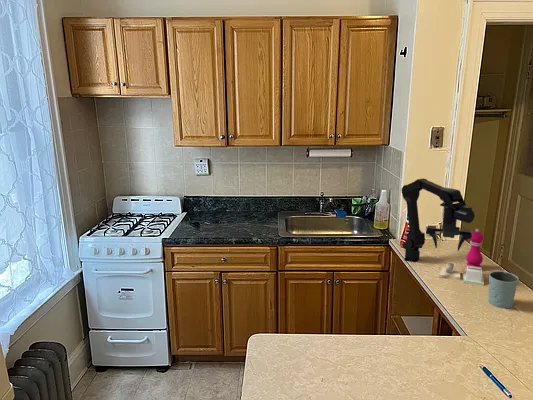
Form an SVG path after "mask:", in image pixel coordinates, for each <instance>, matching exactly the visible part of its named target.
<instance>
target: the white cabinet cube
mask: <svg viewBox="0 0 533 400" xmlns="http://www.w3.org/2000/svg"><path fill="white" fill-rule="evenodd" d="M465 269H466V270H465V271H466V272H465V274H466V280H471V281H478V282H481V279H482V276H483V269H482V266H481V267H474V266H467V267H466V268H465Z"/></svg>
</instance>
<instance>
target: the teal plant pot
mask: <svg viewBox="0 0 533 400" xmlns="http://www.w3.org/2000/svg"><path fill="white" fill-rule="evenodd" d="M488 281H489V283H488V284H489V285H488V297H487V298H488V303H489V304H490V305H491V306H494V307H496V308H499V309H511V308H512V307H513V305H514V301H515V300H514V299H515V297H516V292H517V286H518V284H519V281H520V279H519V277H518V276H517V275H516V274H514V273H511V272H508V271H504V270H503V271H502V270H494V271H491V272H489V274H488Z"/></svg>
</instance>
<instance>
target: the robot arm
mask: <svg viewBox="0 0 533 400" xmlns="http://www.w3.org/2000/svg"><path fill="white" fill-rule="evenodd" d="M423 190H424V191H427V192H428V193H431V194H433V195H435V196H437V197H438V198H439V199H440V200H441V201H442V202H441V203H440V204H439V206H440V207H443V215H442V224H441V228H437V225H429V224H428V225H427V226H426V231H425V232H426V233H425V232H423V231H422V230H421V228H420V220H419V208H418V199H419V197H420V194H421V193H420V192H421V191H423ZM401 193H402V194H401V195H402V198H403V200H404V201H405V202H406V210H407V217H408V218H407V220H408V221H407V222H408V229H409V230H408V232H407V234H406V241H404V242H403V243H402V249H404V250H405V251H404V252H405V253H404V254H405V255H404V261H407V262H414V263H418V262H419V261H420V255H421V251H420V249H423V246H424V245H425V243H426V240H427V239H426V234H427V235H428V236H429V237H431V238H432V240H433V243H434V246H435V249H437V248H438V239H437V238H438V237H437V234H442V237H443V238H451V239H454V238H455V236H459V241H458V244H457V251H458V252H459V251H460V249H461V247H462V245H463V243H464V242H465V241H468V240H471V238H472V232H473V231H472V230H471V229H470V228H462V229H461V227H460V226H457V222H458V221H459V222H463V223H465V224H470V223H472V222H473V221H474V219H475V217H476V216H475V211H474V210H473V207H471V206H466V205H467V204H466V201H465V200H464V197H463V194H462V193H461V191H460V190H459V189H455V188H452V187H451V188H450V187H445V186H442V185H440V184H437V183H434V182H432V181H430V180H428V179H427V178H418V179H416V180H414V181H412V182H411V183H408V184H404V185H403V186H402V187H401Z"/></svg>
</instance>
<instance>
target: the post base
mask: <svg viewBox="0 0 533 400" xmlns="http://www.w3.org/2000/svg"><path fill="white" fill-rule="evenodd" d="M454 265H455V264H454V263H452V262H447V263H446V267H445V266H444V267H443V266H439V268H438V278H440V279H448V280H455V281H461V269H457V268H456V269H455V268H454Z"/></svg>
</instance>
